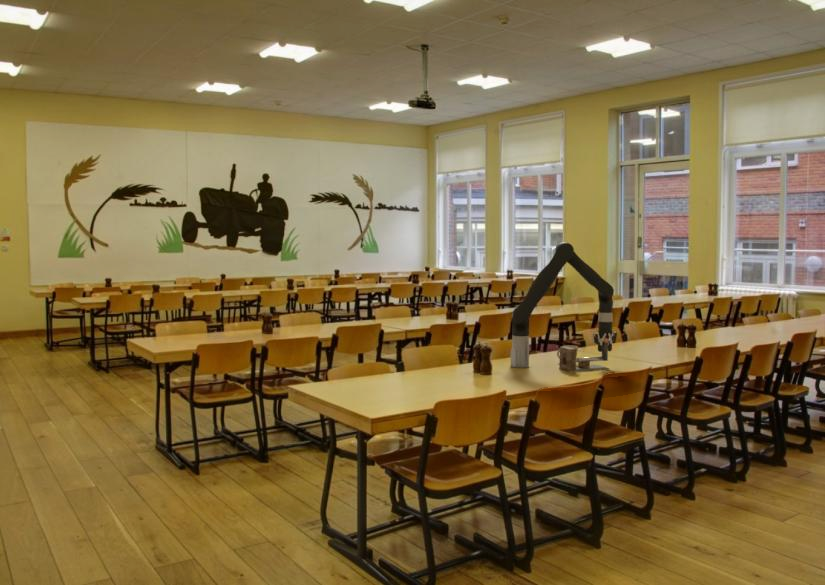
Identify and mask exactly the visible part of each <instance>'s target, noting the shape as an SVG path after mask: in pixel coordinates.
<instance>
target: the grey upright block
mask: <svg viewBox="0 0 825 585" xmlns="http://www.w3.org/2000/svg"><path fill="white" fill-rule="evenodd" d="M563 346H564V347H563ZM563 346H560V347H559V349H560V352H559V356H560V359H559V367H560V370H563V371H566V370H567V371H566V372H569V371H572V370H576V366H577V362H576V358H577V357H576V349H574V348H571V347H567V346H565V345H563ZM562 368H563V369H562ZM569 373H570V372H569Z"/></svg>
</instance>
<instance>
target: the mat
mask: <svg viewBox="0 0 825 585" xmlns="http://www.w3.org/2000/svg"><path fill="white" fill-rule="evenodd" d="M558 369H560V366H559V367H558ZM562 369H563V368H562ZM562 369H560V370H562ZM602 370H603V371H604V370H606V371H607V370H610V368H609V367H606V366H603V365H599V364H590V368H587V369H582V368H579V367H578V365H576V370H572V371H569V373H572V372H573V373H574V372H588V371H602ZM566 372H568V371H567V370H566Z"/></svg>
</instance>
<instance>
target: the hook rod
mask: <svg viewBox="0 0 825 585" xmlns="http://www.w3.org/2000/svg"><path fill="white" fill-rule="evenodd" d="M608 341H609V340H608V338H605V339H604V341H603V342H602V352H601V356H586V357H576V363H578V362H582V360H590V363H591V362H601V361H602V362H605V361H608V360H609V359H608V358H609V353H608V352H609V351H608Z"/></svg>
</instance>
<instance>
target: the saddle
mask: <svg viewBox="0 0 825 585" xmlns="http://www.w3.org/2000/svg"><path fill="white" fill-rule="evenodd" d="M577 363H578V364H577V366H578V367H579V368H582V369H587V368H590V365H591V362H590V360H582V362H577Z"/></svg>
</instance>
